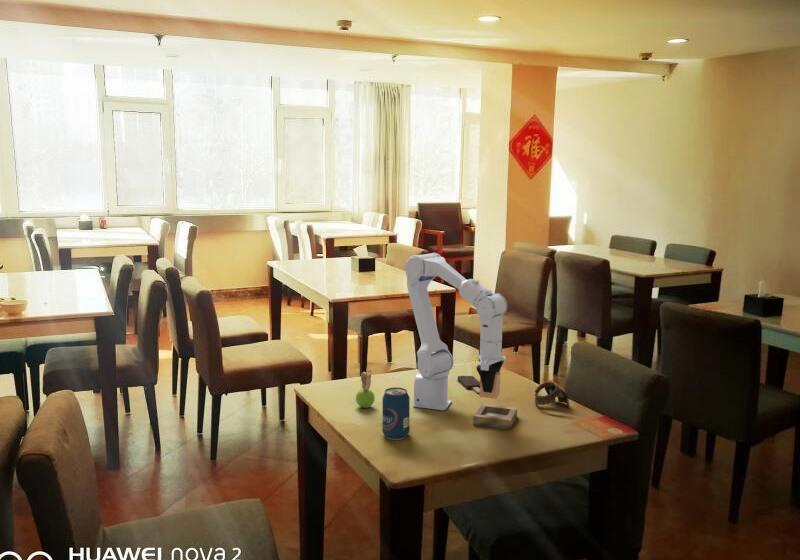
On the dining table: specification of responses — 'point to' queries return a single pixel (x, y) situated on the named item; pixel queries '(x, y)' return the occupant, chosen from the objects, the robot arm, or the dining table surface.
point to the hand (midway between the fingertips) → (489, 389)
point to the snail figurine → (365, 391)
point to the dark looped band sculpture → (551, 394)
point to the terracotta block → (495, 389)
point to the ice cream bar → (469, 383)
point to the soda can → (395, 413)
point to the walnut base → (495, 416)
